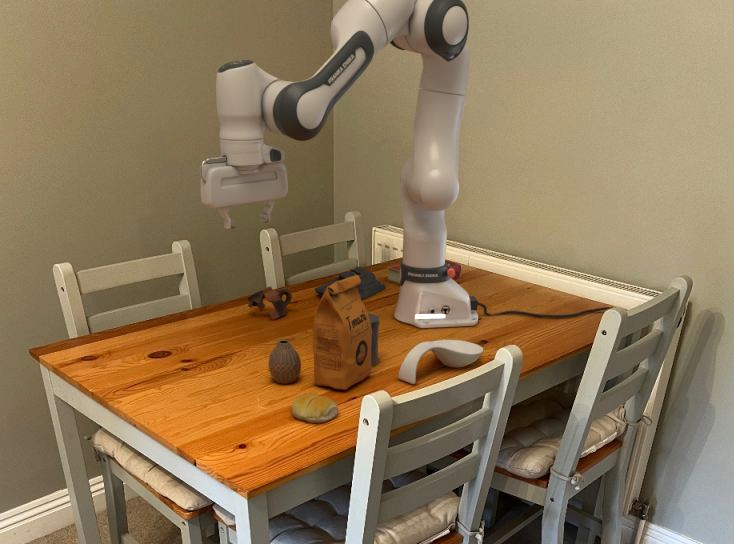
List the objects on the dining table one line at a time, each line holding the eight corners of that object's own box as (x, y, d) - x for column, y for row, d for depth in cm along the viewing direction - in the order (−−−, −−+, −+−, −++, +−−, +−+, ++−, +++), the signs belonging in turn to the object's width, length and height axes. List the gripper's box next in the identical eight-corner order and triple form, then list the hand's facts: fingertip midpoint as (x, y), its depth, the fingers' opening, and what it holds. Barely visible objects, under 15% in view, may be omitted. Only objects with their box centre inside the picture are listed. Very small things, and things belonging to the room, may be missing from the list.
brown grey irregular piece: (264, 324, 193) (249, 295, 191) (254, 330, 202) (239, 302, 199) (302, 305, 197) (288, 276, 195) (291, 312, 206) (277, 284, 203)
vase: (303, 375, 164) (302, 336, 159) (298, 387, 158) (297, 348, 154) (273, 373, 165) (271, 335, 160) (266, 385, 159) (264, 346, 154)
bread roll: (307, 402, 152) (307, 384, 150) (343, 413, 148) (343, 394, 146) (282, 416, 146) (281, 397, 144) (319, 428, 142) (319, 409, 140)
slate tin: (378, 355, 175) (379, 313, 169) (378, 367, 168) (379, 323, 163) (347, 355, 175) (347, 312, 169) (346, 367, 168) (346, 323, 163)
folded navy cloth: (305, 296, 213) (305, 279, 210) (346, 278, 229) (346, 263, 226) (351, 305, 207) (351, 288, 204) (389, 286, 223) (390, 270, 220)
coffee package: (378, 378, 163) (381, 277, 151) (344, 396, 155) (344, 291, 143) (342, 367, 168) (342, 268, 156) (307, 384, 160) (304, 281, 148)
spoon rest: (451, 349, 179) (454, 320, 175) (491, 362, 172) (495, 332, 168) (386, 376, 164) (387, 345, 160) (427, 391, 158) (429, 359, 154)
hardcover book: (461, 277, 232) (462, 263, 230) (412, 289, 221) (413, 274, 219) (434, 269, 240) (435, 255, 238) (386, 280, 228) (386, 266, 226)
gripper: (208, 160, 143) (215, 235, 150) (290, 151, 155) (293, 221, 163) (190, 156, 147) (198, 229, 154) (272, 148, 159) (275, 216, 166)
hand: (247, 225), depth 158 cm, fingers open, 8 cm apart
